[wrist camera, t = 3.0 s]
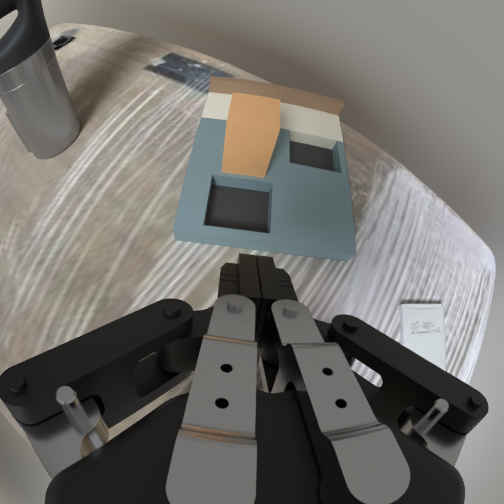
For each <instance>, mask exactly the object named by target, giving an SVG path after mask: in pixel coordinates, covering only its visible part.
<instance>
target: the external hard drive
mask: <svg viewBox="0 0 504 504" xmlns="http://www.w3.org/2000/svg"><path fill="white" fill-rule="evenodd" d="M399 316H400V344H401V345H403V346H405V347H406V348H408V349H410V350H411V351H413V352H415V353H416V354H418V355H420V356H421V357H423V358H425V359H426V360H428V361H430V362H431V363H433V364H434V365H436V366H438V367H439V368H441V369H443V370H444V371H446V341H445V320H444V306H443V304H401V305H399Z"/></svg>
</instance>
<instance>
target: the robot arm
mask: <svg viewBox="0 0 504 504" xmlns="http://www.w3.org/2000/svg"><path fill="white" fill-rule="evenodd" d="M16 9H17V10H18V16H17V18H16V20H15V21H14V23H13V24H12V26H11V27H10V29H9V30H8V31H7V32H6V34H5V35H4V36H3V37H2V38H1V39H0V98H1V100H2V102H3V103H4V105H5V107H6V109H7V111H6V116H7V117H8V119H9V121H10V123H11V124H12V126H13V128H14V129H15V131H16V132H17V134H18V136H19V137H20V139H21V140H22V142H23V144H24V145H25V147H26V148H27V150H28V151H29V152H33V154H34V155H35V156H36V157H37V158H40V159H46V158H50V157H53V156H55V155H57V154H59V153H61V152H62V151H63V150H65V149H66V148H67V147H68V146H69V145H70V144H71V143H72V142H73V141H74V140H75V138H76V137H77V135H78V133H79V131H80V121H79V119H78V116H77V114H76V111H75V109H74V106H73V103H72V100H71V98H70V95H69V92H68V90H67V87H66V84H65V81H64V79H63V76H62V73H61V70H60V67H59V64H58V61H57V57H56V54H55V51H54V48H53V44H52V41H51V37H50V34H49V30H48V28H47V24H46V20H45V17H44V12H43V8H42V3H41V0H0V19H1V18H2V17H4V16H6V15H7V14H9V13H10V12H12V11H14V10H16ZM257 348H260V349H261V354H260V358H259V368H260V373H261V379H262V384H263V389H264V391H259V390H256V376H257ZM154 352H155V353H154ZM152 353H153V354H152ZM150 354H152V355H150ZM149 355H150V356H149ZM147 356H148V357H147ZM145 357H146V358H145ZM143 358H145V359H143ZM141 359H143V360H141ZM355 359H357V360H359V361H360V362H362V363H363V364H365V365H366V366H368V367H369V368H371V369H372V370H374V371H375V372H377V373H378V374H379V375H380V376H381V377H382V380H383V383H382V386H381V387H377V386H375V385H373V384H372V383H370V382H369V381H367V380H366V379H364V378H363V377H361V376H360V375H359V374H357V373H356V372H354V371H353V370H351V367H352V365H353V363H354V361H355ZM140 360H141V361H140ZM138 361H139V362H138ZM191 371H195V372H194V376H193V380H192V384H191V389H190V393H186V394H182V395H179V396H176V397H174V398H171V399H170V400H168V401H166V402H164V403H163V404H161V405H160V406H158V407H157V408H156V409H154V410H153V411H152V412H150V413H149V414H147V415H146V416H145V417H143V418H142V419H140V420H139V421H138V422H136V423H135V424H133V425H132V426H130V427H129V428H127V429H126V430H125V431H123V432H122V433H120V434H119V435H117V436H116V437H114V438H113V439H111V440H110V441H108V442H107V440H108V437H109V430H108V429H109V428H111V427H112V426H114V425H116V424H117V423H119V422H121V421H122V420H124V419H126V418H127V417H129V416H130V415H132V414H133V413H135V412H137V411H138V410H140V409H141V408H143V407H144V406H146V405H148V404H149V403H151V402H152V401H154V400H155V399H157V398H158V397H160V396H161V395H163V394H164V393H166V392H167V391H169V390H170V389H172V388H173V387H175V386H176V385H177V384H179V383H180V382H182V381H183V380H185V379H186V378H187V377H188V376H189V375H190V374H191ZM0 398H1V400H2V401H3V403H4V404H5V405H6V407H7V408H8V410H9V411H10V412H11V415H12V416H13V418H14V419H15V421H16V422H17V423H18V424H19V426H20V427H21V428H22V429H23V430H24V432H25V433H26V435H27V437H28V439H29V441H30V443H31V445H32V447H33V449H34V450H35V452H36V454H37V456H38V458H39V459H40V461H41V463H42V464H43V466H44V467H45V469H46V471H47V472H48V474H49V476H50V477H51V479H52V481H51V482H50V484H49V486H48V488H47V491H46V495H45V504H464V500H465V486H464V482H463V479H462V477H461V475H460V473H459V472H458V471H457V469H456V468H455V467H454V466H455V463H456V461H457V459H458V456H459V453H460V451H461V449H462V446H463V443H464V440H465V438H466V435H467V434H468V433H469V432H470V431H471V430H472V429H473V428H474V427H475V426H476V425H477V424H478V423H479V422H480V421H481V420H482V419H483V418H484V417H485V416H486V414H487V413H488V403H487V401H486V399H485V397H484V396H483V395H482V394H481V393H480V392H479V391H477V390H476V389H474V388H473V387H471V386H469V385H468V384H466V383H464V382H463V381H461V380H459V379H458V378H456V377H454V376H453V375H451V374H449V373H448V372H446V371H444V370H443V369H441V368H439V367H438V366H436V365H434V364H433V363H431V362H430V361H428V360H426V359H425V358H423V357H421V356H420V355H418V354H416V353H415V352H413V351H411V350H410V349H408V348H406V347H405V346H403V345H401V344H400V343H398V342H396V341H395V340H393V339H392V338H390V337H388V336H387V335H385V334H383V333H382V332H380V331H378V330H377V329H375V328H373V327H372V326H370V325H368V324H367V323H365V322H364V321H362V320H360V319H358V318H357V317H354V316H351V315H345V314H342V315H337V316H335V317H334V318H333V320H332V322H331V324H330V323H326V322H322V321H318V320H315V319H313V318H312V315H311V313H310V311H309V310H308V308H307V307H306V306H305V305H303V304H301V303H299V302H298V300H297V297H296V294H295V291H294V288H293V285H292V282H291V279H290V276H289V274H288V273H287V272H286V271H285V270H283V269H279V268H275V264H274V261H273V257H267V256H258V255H256V256H255V255H249V254H240V253H239V256H238V263H237V264H234V263H225V264H224V265H223V266H222V267H221V272H220V281H219V290H218V299H217V300H216V301H215V305H214V306H212V307H211V308H208V309H205V310H200V311H193V309H192V307H191V306H190V305H189V304H188V303H186V302H185V301H182V300H179V299H163V300H160V301H157V302H155V303H153V304H151V305H148V306H146V307H144V308H142V309H140V310H137V311H135V312H133V313H131V314H129V315H126V316H124V317H122V318H120V319H117V320H115V321H113V322H111V323H109V324H106V325H104V326H102V327H100V328H97V329H95V330H93V331H91V332H89V333H86V334H84V335H82V336H80V337H77V338H75V339H73V340H71V341H68V342H66V343H64V344H62V345H59V346H57V347H55V348H53V349H51V350H48V351H46V352H44V353H42V354H39V355H37V356H35V357H32V358H30V359H28V360H26V361H23V362H21V363H19V364H17V365H14V366H12V367H10V368H8V369H7V370H5V371H4V372H3V373H2V374H1V376H0ZM106 442H107V443H106Z"/></svg>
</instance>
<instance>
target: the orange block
mask: <svg viewBox="0 0 504 504" xmlns="http://www.w3.org/2000/svg"><path fill="white" fill-rule="evenodd" d="M279 131H280V99H274V98H269V97H263V96H256V95H250V94H243V93H235V92H233V94H232V99H231V103H230V108H229V113H228V118H227V122H226V131H225V141H224V151H223V161H222V172H225V173H232V174H240V175H247V176H254V177H261V178H265V175H266V172H267V168H268V165H269V162H270V159H271V156H272V153H273V150H274V147H275V144H276V141H277V137H278V134H279Z"/></svg>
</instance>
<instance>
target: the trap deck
mask: <svg viewBox="0 0 504 504" xmlns="http://www.w3.org/2000/svg"><path fill="white" fill-rule="evenodd" d="M233 92H235V93H243V94H250V95H256V96H263V97H269V98H274V99H280V131H279V134H278V137H277V141H276V144H275V147H274V150H273V153H272V156H271V159H270V162H269V165H268V168H267V172H266V175H265V178H261V177H254V176H247V175H240V174H232V173H225V172H222V161H223V151H224V141H225V131H226V122H227V118H228V113H229V108H230V103H231V99H232V94H233ZM343 106H344V102H343V101H342V100H338V99H335V98H332V97H327V96H324V95H320V94H316V93H312V92H308V91H304V90H299V89H295V88H290V87H285V86H280V85H275V84H269V83H263V82H257V81H250V80H243V79H236V78H227V77H217V76H211V78H210V87H209V95H208V98H207V101H206V104H205V107H204V110H203V114H202V117H201V120H200V124H199V127H198V131H197V134H196V138H195V141H194V145H193V149H192V152H191V156H190V160H189V164H188V168H187V172H186V176H185V180H184V184H183V188H182V192H181V197H180V201H179V206H178V210H177V215H176V219H175V224H174V229H173V232H174V235H175V239H176V240H180V241H188V242H197V243H205V244H213V245H221V246H229V247H237V248H245V249H253V250H262V251H270V252H278V253H286V254H294V255H302V256H310V257H318V258H326V259H334V260H342V261H347V260H349V259H350V258H351V257H353V256H354V255H355V254H356V245H355V231H354V220H353V210H352V200H351V192H350V184H349V176H348V169H347V162H346V156H345V149H344V143H343V138H342V132H341V127H340V121H339V116H338V115H339V114H340V111H341V110H342V108H343Z"/></svg>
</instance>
